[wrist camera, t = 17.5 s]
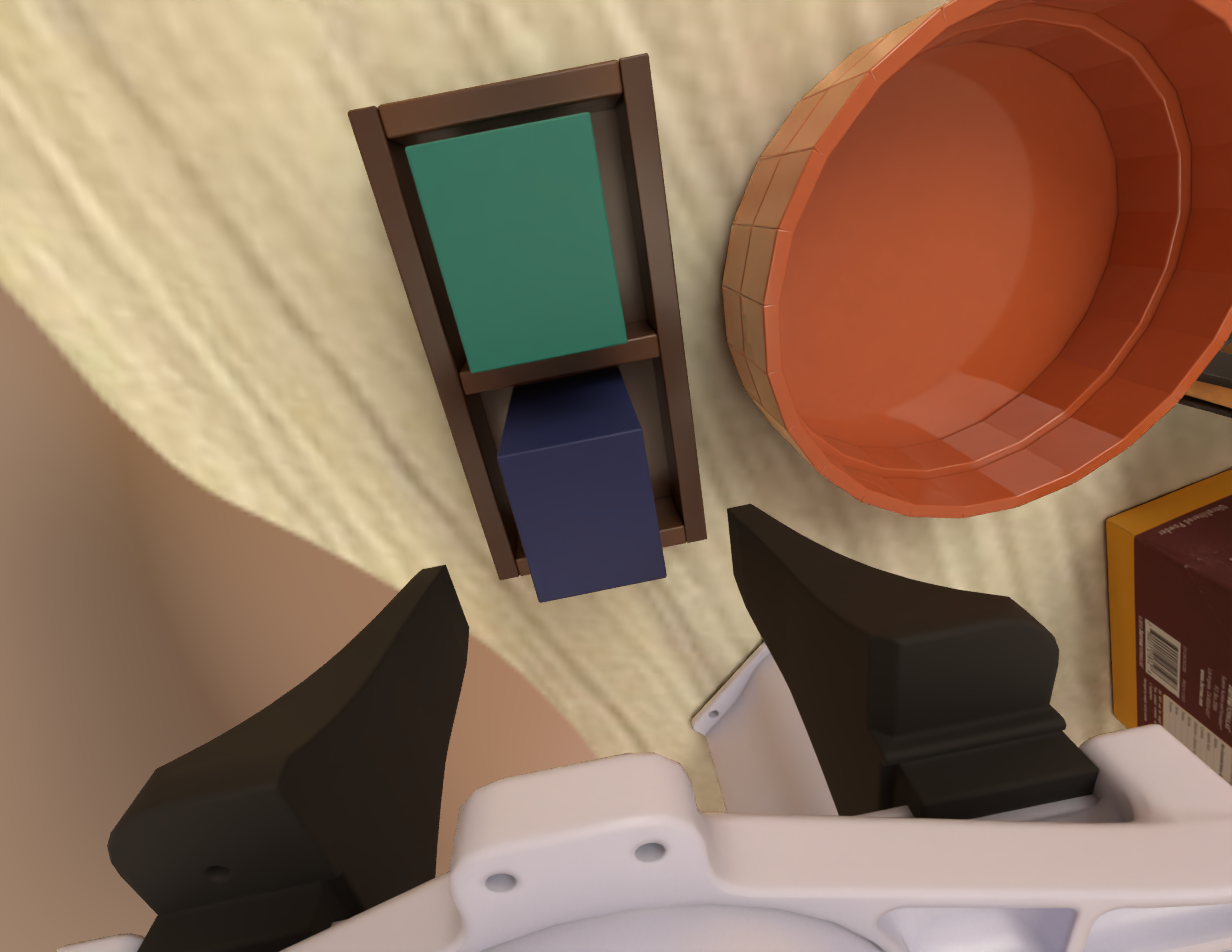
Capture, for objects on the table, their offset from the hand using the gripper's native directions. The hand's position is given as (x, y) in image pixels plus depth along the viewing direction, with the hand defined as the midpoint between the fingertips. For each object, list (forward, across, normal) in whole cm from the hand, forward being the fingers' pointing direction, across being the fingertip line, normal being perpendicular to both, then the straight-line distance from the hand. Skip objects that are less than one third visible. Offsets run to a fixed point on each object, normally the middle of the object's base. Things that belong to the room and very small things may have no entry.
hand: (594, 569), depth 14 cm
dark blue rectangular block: (+9, 0, 0) cm, 9 cm away
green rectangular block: (+9, 0, -7) cm, 11 cm away
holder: (+9, 0, -4) cm, 10 cm away
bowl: (+9, -14, -4) cm, 17 cm away
